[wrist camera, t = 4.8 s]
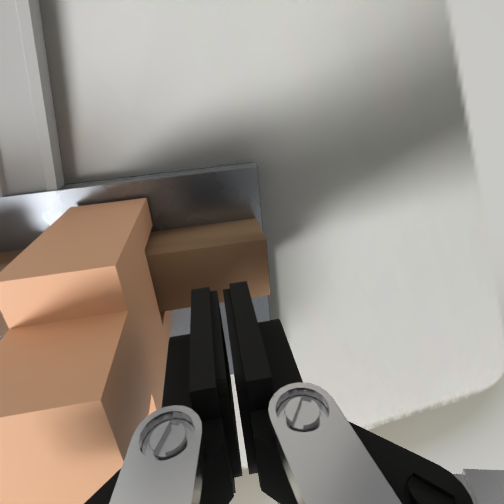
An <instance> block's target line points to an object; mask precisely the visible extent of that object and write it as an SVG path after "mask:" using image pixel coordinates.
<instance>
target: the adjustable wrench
mask: <svg viewBox="0 0 504 504" xmlns="http://www.w3.org/2000/svg"><path fill="white" fill-rule="evenodd" d="M63 185H65V183H64V176H63V169H62V161H61V154H60V147H59V140H58V133H57V126H56V119H55V112H54V105H53V98H52V90H51V83H50V76H49V69H48V62H47V55H46V48H45V41H44V34H43V27H42V19H41V12H40V5H39V0H0V197H3V196H6V195H10V194H18V193H27V192H35V191H43V190H47V191H53V190H58V189H59V188H61V187H62V186H63Z"/></svg>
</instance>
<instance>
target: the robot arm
mask: <svg viewBox="0 0 504 504" xmlns="http://www.w3.org/2000/svg"><path fill="white" fill-rule="evenodd" d="M223 295H224V303H225V310H226V318H227V325H228V332H229V340H230V347H231V355H232V362H233V369H234V377H235V384H236V391H237V397H238V404H239V410H240V417H241V423H242V430H243V436H244V443H245V449H246V456H247V462H248V469H249V474H254V473H258V476H259V482H260V487H261V490H262V491H263V492H264V493H266V494H267V495H268V496H270V497H271V498H273V499H274V500H276V501H277V502H278V504H504V470H478V469H463V472H462V474H452V473H450V472H449V471H447V470H446V469H444V468H442V467H441V466H439V465H437V464H435V463H433V462H431V461H429V460H427V459H425V458H423V457H421V456H419V455H417V454H415V453H413V452H411V451H409V450H407V449H405V448H402V447H400V446H398V445H396V444H394V443H392V442H390V441H388V440H386V439H384V438H382V437H380V436H378V435H376V434H374V433H371V432H369V431H367V430H365V429H363V428H361V427H359V426H357V425H355V424H353V423H351V422H349V421H347V419H346V417H345V416H344V414H343V413H342V411H341V410H340V408H339V407H338V405H337V404H336V402H335V401H334V399H333V398H332V397H331V396H330V394H329V393H328V392H327V391H325V390H324V389H322V388H321V387H319V386H317V385H313V384H310V383H303V381H302V379H301V376H300V373H299V371H298V368H297V365H296V362H295V360H294V357H293V354H292V351H291V349H290V346H289V343H288V341H287V338H286V335H285V332H284V330H283V327H282V324H281V322H280V320H279V319H276V320H270V321H264V322H257V318H256V314H255V310H254V307H253V303H252V299H251V295H250V292H249V288H248V284H247V281H243V282H237V283H231V284H229V289H223ZM239 476H242V468H241V460H240V452H239V443H238V435H237V427H236V419H235V410H234V402H233V394H232V386H231V377H230V369H229V362H228V356H227V349H226V343H225V337H224V330H223V324H222V318H221V312H220V305H219V299H218V293H217V290H216V291H210V287H205V288H198V289H192V290H191V318H190V334H186V335H179V336H173V337H170V338H169V343H168V353H167V362H166V371H165V380H164V390H163V399H162V408H161V409H159V410H156V411H154V412H153V413H151V414H150V415H148V416H147V417H146V418H145V419H144V420H143V421H142V422H141V423H140V424H139V425H138V426H137V428H136V430H135V432H134V434H133V436H132V439H131V442H130V445H129V448H128V451H127V453H126V456H125V459H124V462H123V465H122V468H121V469H119V470H118V471H117V472H116V473H115V474H114V475H113V476H112V477H111V478H110V479H109V480H108V481H107V482H106V483H105V484H104V485H103V486H102V487H101V488H100V489H99V490H98V491H97V492H96V493H95V494H93V495H92V496H91V497H90V498H89V499H88V500H87V501H86V502H85V503H84V504H229V502H230V501H231V500H232V498H233V497H234V493H235V482H234V477H239Z"/></svg>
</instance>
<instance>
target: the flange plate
mask: <svg viewBox="0 0 504 504" xmlns="http://www.w3.org/2000/svg"><path fill="white" fill-rule="evenodd" d="M140 198H147V202H148V206H149V211H150V215H151V220H152V224H153V226H152V229H151V232H155V231H163V230H170V229H178V228H185V227H193V226H200V225H208V224H215V223H223V222H230V221H238V220H245V219H253V218H256V219H257V221H258V223H259V225H260V227H261V229H262V232H263V228H262V216H261V204H260V191H259V179H258V167H257V165H256V164H255V163H254V162H252V163H244V164H235V165H227V166H219V167H210V168H202V169H193V170H185V171H176V172H168V173H160V174H151V175H143V176H134V177H126V178H117V179H109V180H101V181H92V182H84V183H75V184H67V185H63V186H62V187H61V188H59V189H58V190H53V191H47V190H43V191H35V192H27V193H18V194H10V195H6V196H3V197H0V252H5V251H13V250H20V249H26V248H27V247H28V246H29V245H30V244H31V243H32V242H33V241H34V240H35V239H37V238H38V237H39V236H40V235H41V234H42V233H43V232H44V231H45V230H46V229H47V228H48V227H49V226H51V225H52V224H53V223H54V222H55V221H56V220H57V219H58V218H59V217H60V216H61V215H62V214H64V213H65V212H66V211H67V210H68V209H69V208H70V207H76V206H84V205H92V204H100V203H108V202H116V201H124V200H132V199H140ZM251 299H252V303H253V307H254V310H255V314H256V318H257V322H264V321H270V314H269V302H268V295H267V296H260V297H254V298H251ZM219 305H220V312H221V318H222V324H223V330H224V337H225V343H226V349H227V356H228V362H229V369H230V374H234V369H233V362H232V355H231V347H230V340H229V332H228V325H227V318H226V310H225V303H224V302H222V303H219ZM190 318H191V307H189V308H183V309H176V310H172V322H171V331H170V337H173V336H179V335H186V334H190ZM2 337H3V336H2ZM2 337H0V340H1V339H2Z"/></svg>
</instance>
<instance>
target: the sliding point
mask: <svg viewBox="0 0 504 504" xmlns="http://www.w3.org/2000/svg"><path fill="white" fill-rule="evenodd" d="M152 226H153V224H152V220H151V215H150V211H149V206H148V202H147V198H140V199H132V200H124V201H116V202H108V203H100V204H92V205H84V206H76V207H70V208H69V209H68V210H67V211H66V212H65V213H64V214H62V215H61V216H60V217H59V218H58V219H57V220H56V221H55V222H54V223H53V224H52V225H51V226H49V227H48V228H47V229H46V230H45V231H44V232H43V233H42V234H41V235H40V236H39V237H38V238H37V239H35V240H34V241H33V242H32V243H31V244H30V245H29V246H28V247H27V248H26V249H25V250H24V251H22V252H21V253H20V254H19V255H18V256H17V257H16V258H15V259H14V260H13V261H12V262H11V263H9V264H8V265H7V266H6V267H5V268H4V269H3V270H2V271H1V272H0V311H1V313H2V315H3V317H4V319H5V321H6V323H7V325H8V328H9V330H8V331H7V332H6V334H5V335H4V336H3V337H2V339H1V340H0V504H84V503H85V502H86V501H87V500H88V499H89V498H90V497H91V496H92V495H93V494H95V493H96V492H97V491H98V490H99V489H100V488H101V487H102V486H103V485H104V484H105V483H106V482H107V481H108V480H109V479H110V478H111V477H112V476H113V475H114V474H115V473H116V472H117V471H118V470H119V469H121V468H122V465H123V462H124V459H125V456H126V453H127V451H128V448H129V445H130V442H131V439H132V436H133V434H134V432H135V430H136V428H137V426H138V425H139V424H140V423H141V422H142V421H143V420H144V419H145V418H146V417H147V416H148V415H150V414H151V413H153V412H154V411H156V410H159V409H161V408H162V399H163V390H164V380H165V371H166V362H167V353H168V343H169V338H170V331H171V322H172V310H170V311H163V312H159V308H158V304H157V300H156V296H155V291H154V287H153V283H152V279H151V275H150V271H149V267H148V262H147V258H146V254H145V248H146V244H147V241H148V238H149V235H150V232H151V229H152Z"/></svg>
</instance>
